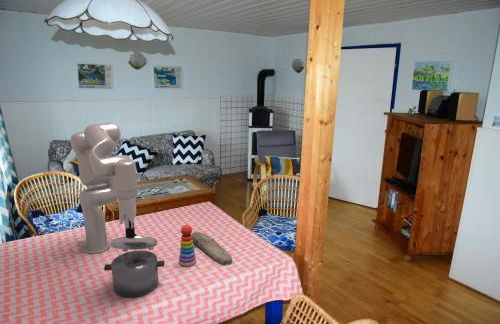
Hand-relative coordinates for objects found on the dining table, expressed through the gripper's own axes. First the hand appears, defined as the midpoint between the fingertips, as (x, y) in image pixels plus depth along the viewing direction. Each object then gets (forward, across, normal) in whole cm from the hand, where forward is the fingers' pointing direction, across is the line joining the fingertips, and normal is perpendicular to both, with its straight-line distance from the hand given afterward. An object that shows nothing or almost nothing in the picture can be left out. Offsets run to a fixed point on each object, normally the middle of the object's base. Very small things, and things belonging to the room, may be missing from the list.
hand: (130, 236), depth 137 cm
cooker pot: (+24, -4, 0) cm, 25 cm away
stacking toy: (+24, -19, +21) cm, 38 cm away
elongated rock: (+25, -30, +32) cm, 51 cm away
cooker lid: (+7, -7, 0) cm, 10 cm away
